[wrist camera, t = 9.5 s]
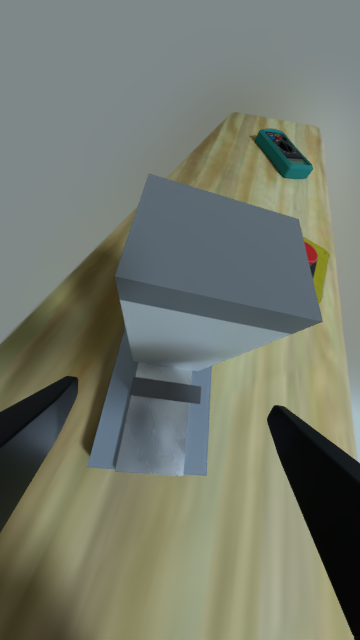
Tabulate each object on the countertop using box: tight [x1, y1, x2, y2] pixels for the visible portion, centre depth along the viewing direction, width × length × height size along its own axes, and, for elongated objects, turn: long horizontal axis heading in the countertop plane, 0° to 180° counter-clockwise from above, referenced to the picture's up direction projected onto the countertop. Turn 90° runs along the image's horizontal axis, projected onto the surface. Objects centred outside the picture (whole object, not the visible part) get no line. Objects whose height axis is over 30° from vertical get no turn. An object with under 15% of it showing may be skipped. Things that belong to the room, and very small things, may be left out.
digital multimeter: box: [255, 129, 313, 179], centre depth 41 cm, size 7×15×3 cm, turn 19°
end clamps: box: [130, 377, 201, 404], centre depth 16 cm, size 10×5×3 cm, turn 173°
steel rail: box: [115, 362, 192, 476], centre depth 16 cm, size 15×5×1 cm, turn 173°
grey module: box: [115, 174, 323, 371], centre depth 11 cm, size 5×6×12 cm
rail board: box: [87, 326, 212, 476], centre depth 17 cm, size 15×9×2 cm, turn 173°
